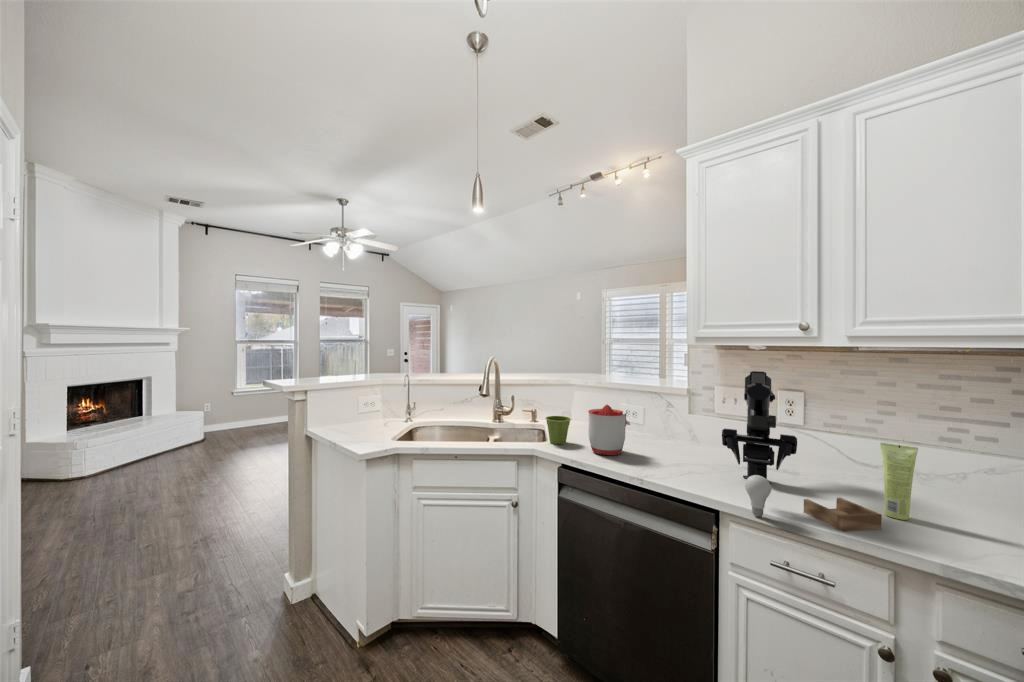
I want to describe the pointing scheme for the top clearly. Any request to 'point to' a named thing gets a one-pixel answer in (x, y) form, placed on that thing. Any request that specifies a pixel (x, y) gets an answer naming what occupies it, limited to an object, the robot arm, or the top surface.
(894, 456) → the tube
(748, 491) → the lightbulb
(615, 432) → the citrus juicer
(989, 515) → the top surface
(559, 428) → the plant pot
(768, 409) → the robot arm
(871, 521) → the u rest
